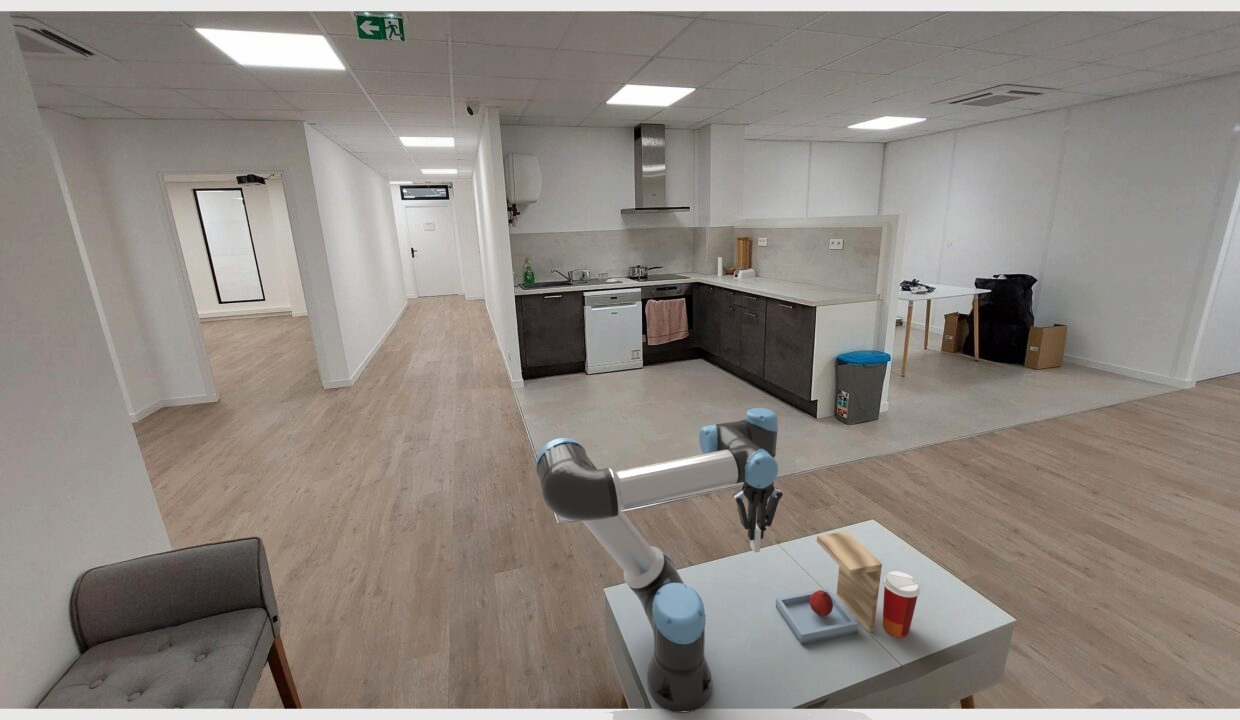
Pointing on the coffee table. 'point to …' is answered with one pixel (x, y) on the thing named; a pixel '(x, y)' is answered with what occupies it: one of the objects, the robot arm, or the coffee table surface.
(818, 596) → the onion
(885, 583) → the coffee cup
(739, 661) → the coffee table surface
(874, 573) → the wooden l-shaped bracket
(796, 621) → the tray
